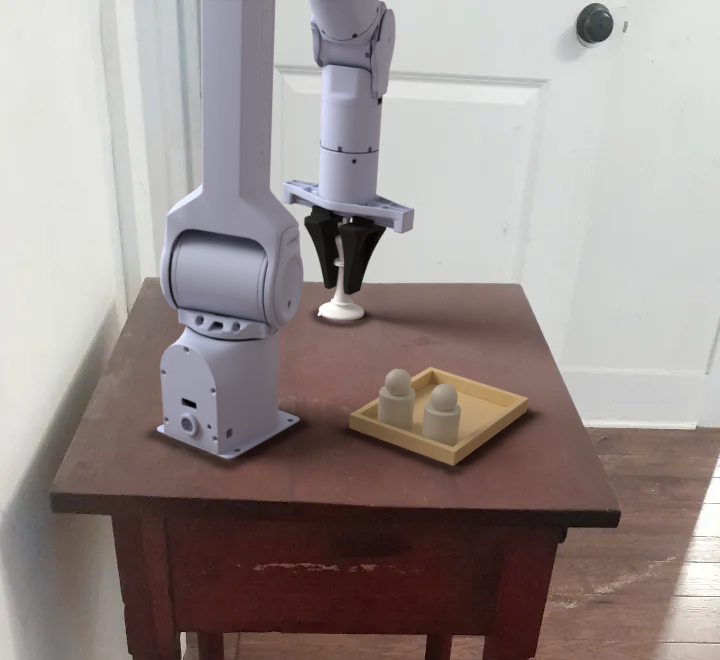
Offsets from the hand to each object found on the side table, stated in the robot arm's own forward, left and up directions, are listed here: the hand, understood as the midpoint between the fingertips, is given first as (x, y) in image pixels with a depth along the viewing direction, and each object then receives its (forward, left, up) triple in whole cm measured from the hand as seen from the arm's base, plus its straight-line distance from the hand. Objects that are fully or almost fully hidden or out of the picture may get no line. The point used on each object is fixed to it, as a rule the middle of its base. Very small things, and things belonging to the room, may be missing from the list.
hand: (342, 289), depth 103 cm
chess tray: (-15, -21, -3) cm, 26 cm away
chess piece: (0, 0, -3) cm, 3 cm away
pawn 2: (-19, -23, -2) cm, 30 cm away
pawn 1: (-19, -19, -2) cm, 27 cm away
